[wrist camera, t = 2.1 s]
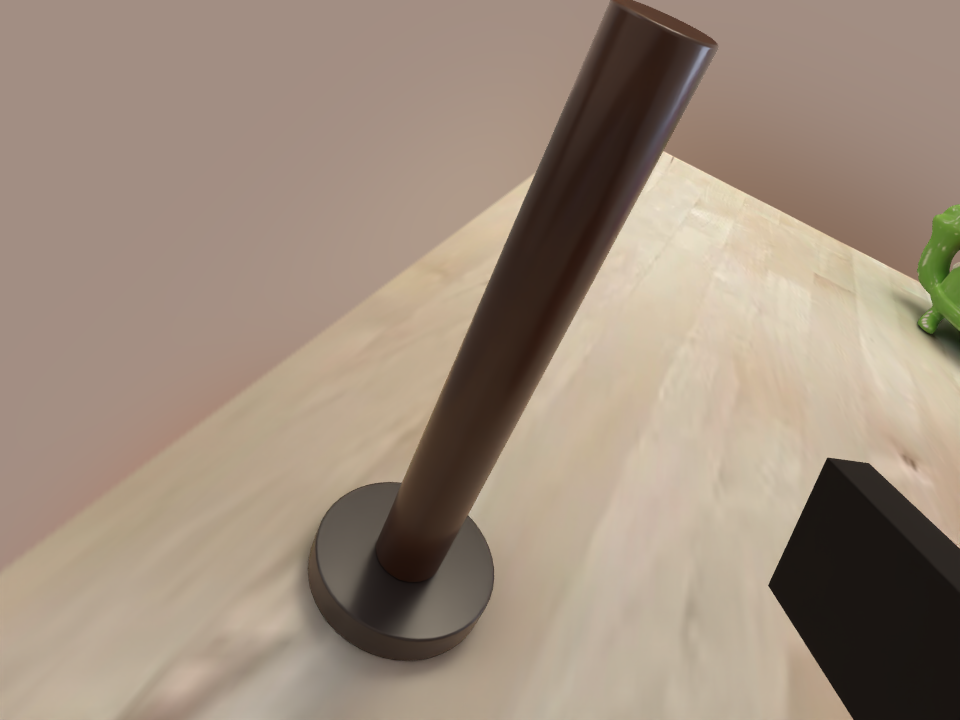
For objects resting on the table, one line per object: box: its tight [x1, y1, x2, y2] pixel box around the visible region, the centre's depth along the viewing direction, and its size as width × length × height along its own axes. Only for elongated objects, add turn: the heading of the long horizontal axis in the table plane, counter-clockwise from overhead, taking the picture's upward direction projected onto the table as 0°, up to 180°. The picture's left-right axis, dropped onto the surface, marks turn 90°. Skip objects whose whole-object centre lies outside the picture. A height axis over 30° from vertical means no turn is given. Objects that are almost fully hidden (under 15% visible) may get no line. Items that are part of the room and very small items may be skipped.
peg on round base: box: [308, 0, 718, 660], centre depth 18 cm, size 6×6×18 cm
